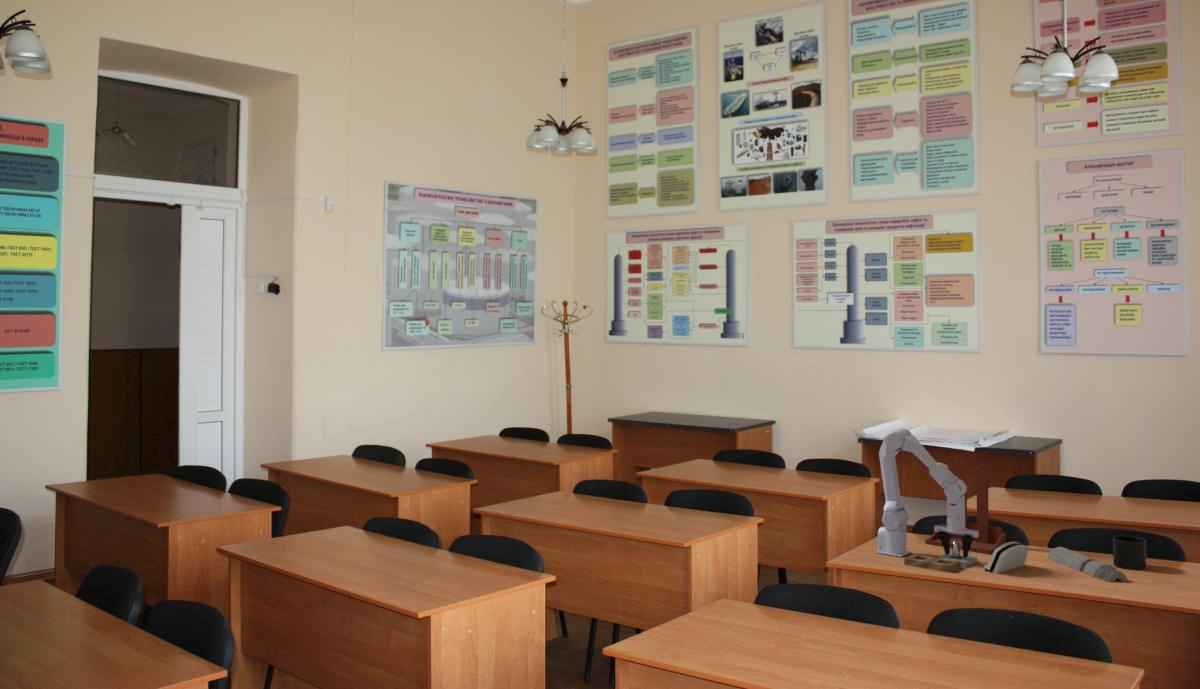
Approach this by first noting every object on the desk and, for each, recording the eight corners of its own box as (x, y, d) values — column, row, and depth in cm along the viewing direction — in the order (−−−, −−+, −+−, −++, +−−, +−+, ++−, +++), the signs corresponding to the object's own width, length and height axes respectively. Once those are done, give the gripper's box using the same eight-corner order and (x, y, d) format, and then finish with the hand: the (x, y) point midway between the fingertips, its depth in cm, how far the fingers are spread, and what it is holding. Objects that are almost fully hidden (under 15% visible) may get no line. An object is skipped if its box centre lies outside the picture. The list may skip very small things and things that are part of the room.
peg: (951, 562, 319) (950, 541, 319) (954, 560, 321) (954, 540, 321) (958, 563, 318) (958, 542, 317) (961, 561, 319) (961, 541, 319)
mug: (1127, 559, 317) (1127, 533, 317) (1152, 569, 305) (1152, 541, 305) (1102, 561, 316) (1101, 534, 316) (1126, 570, 304) (1126, 542, 304)
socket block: (935, 562, 319) (935, 558, 319) (948, 556, 326) (948, 552, 326) (965, 567, 312) (964, 562, 312) (977, 561, 320) (977, 556, 319)
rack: (904, 564, 318) (904, 558, 318) (915, 559, 323) (914, 553, 323) (950, 572, 307) (950, 566, 306) (960, 567, 312) (960, 561, 312)
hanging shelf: (925, 544, 346) (924, 463, 345) (942, 538, 355) (941, 459, 354) (989, 555, 328) (988, 469, 327) (1006, 548, 337) (1005, 465, 336)
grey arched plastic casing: (1010, 562, 317) (1019, 536, 314) (1023, 569, 314) (1032, 543, 311) (981, 570, 308) (990, 544, 305) (994, 578, 304) (1003, 551, 301)
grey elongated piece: (1071, 546, 322) (1130, 568, 293) (1071, 558, 323) (1130, 582, 293) (1047, 547, 321) (1105, 569, 292) (1047, 559, 322) (1105, 583, 292)
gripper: (982, 516, 317) (982, 556, 317) (940, 511, 327) (940, 549, 327) (973, 520, 312) (974, 560, 312) (931, 514, 322) (931, 553, 322)
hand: (956, 555), depth 319 cm, fingers open, 6 cm apart
